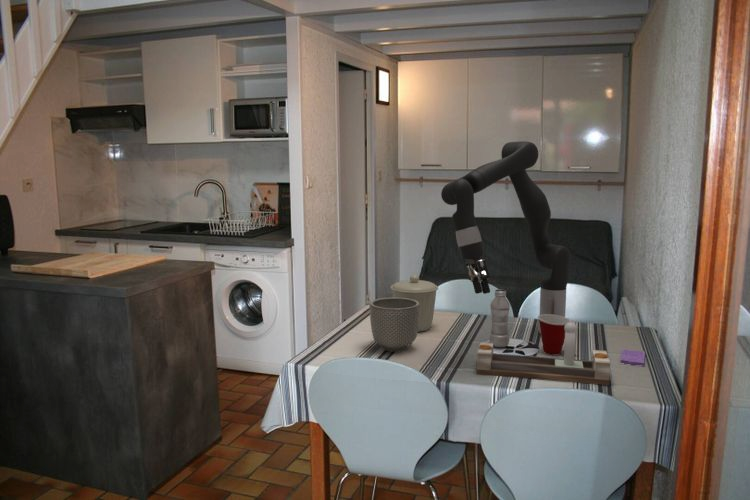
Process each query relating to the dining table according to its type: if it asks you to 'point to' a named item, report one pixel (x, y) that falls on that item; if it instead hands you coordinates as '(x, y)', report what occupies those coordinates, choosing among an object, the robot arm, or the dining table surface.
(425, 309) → the canister
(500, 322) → the plastic bottle
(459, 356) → the dining table surface
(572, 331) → the carriage
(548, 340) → the plastic cup
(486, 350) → the rail track
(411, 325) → the planter
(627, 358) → the sponges
